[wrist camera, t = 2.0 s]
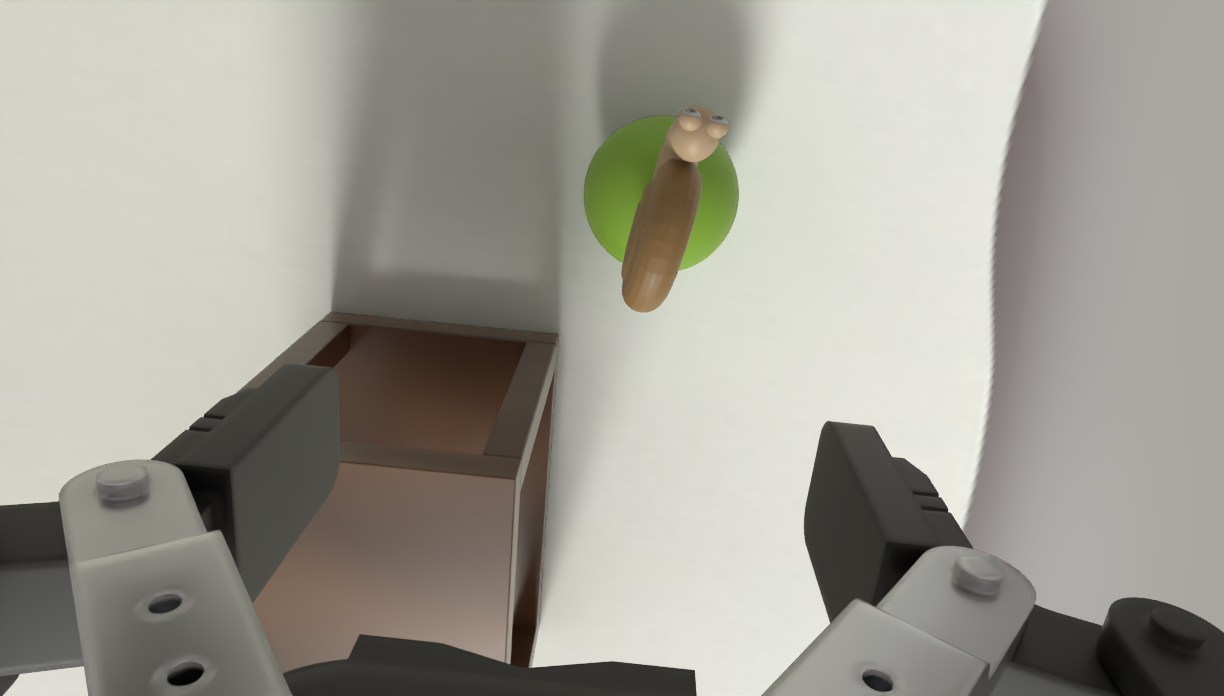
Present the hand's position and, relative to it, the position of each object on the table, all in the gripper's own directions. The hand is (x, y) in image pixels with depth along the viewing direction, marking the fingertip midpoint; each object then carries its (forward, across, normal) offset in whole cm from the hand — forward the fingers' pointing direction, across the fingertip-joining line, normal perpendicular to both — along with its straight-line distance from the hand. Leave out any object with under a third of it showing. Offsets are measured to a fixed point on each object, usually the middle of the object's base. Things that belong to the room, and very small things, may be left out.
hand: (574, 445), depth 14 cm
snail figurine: (+20, -2, -2) cm, 20 cm away
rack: (+20, +6, +13) cm, 25 cm away
